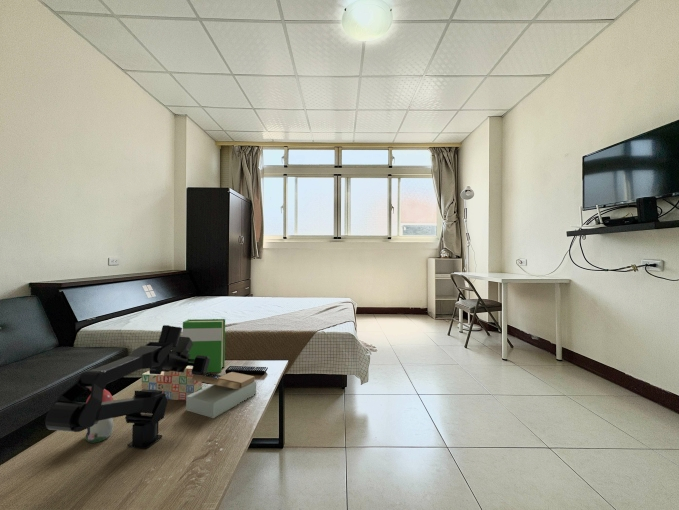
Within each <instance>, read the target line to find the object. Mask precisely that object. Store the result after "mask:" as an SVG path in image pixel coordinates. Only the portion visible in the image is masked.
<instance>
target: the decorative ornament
mask: <svg viewBox="0 0 679 510" xmlns="http://www.w3.org/2000/svg"><path fill="white" fill-rule="evenodd" d="M88 389H89V391H90V392H91V388H88ZM90 396H91V393H89V396H88V397H87V399H86V402H85V403H87V402H88V400H89V399H90ZM113 400H114V397H113V395H112V394H111V392H110V391H109V390H107V389H106V388H104V390H103V399H102V402H106V401H113ZM113 428H114V418H110V419H105V420H100V421H97V422H96V423H95V424H94V425H93V426H92V427H90V428H87V429H86V434H85V435H84V437H85V440H86V442H87V443H89V444H91V443H93V444H95V443H99V442H102V441H105V440H106V439H108V438H109V436H110V435H111V434H112V432H113Z"/></svg>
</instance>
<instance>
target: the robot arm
mask: <svg viewBox="0 0 679 510" xmlns="http://www.w3.org/2000/svg"><path fill="white" fill-rule="evenodd" d="M182 332H183V327H180V326H173V325H168V324H163V325H162V327H161V332H160V334H159V335H160V336H159V338H158V341H149V342H148V343H146V344H144V345H141V346H139V347H137V348H136V349H133V350H132V351H131V353H130V354H129V355H127V356H125V357H122V358H119V359H117V360H114V361H112V362H110V363H107V364H104V365H102V366H101V365H100V366H99V367H96V368H93V369H88V370H85V371H83V372H81V374H80V376H79V377H78V379H77V380H76V381H75V382H74V383H73V384H72V385H70V387H68V388H66V390H65V391H63V392H61V393H60V394H59V396H58V398H56V400H55V401H54V403H53V404H52V406H51V407H50V409H49V410H48V412H47V413H46V415H45V420H44V424H45V427H46V429H48V430H51V431H61V432H62V431H63V432H72V433H80V432H82V431H84V430H87V428H90V427H92V426H93V425H94V424H95V423H96V422H97V421H100V420H105V419H110V418H113V419H114V418H120V417H125V422H126V424H132V429H131V430H132V431H131V432H132V433H131V435H132V436H131V441H130V442H128V443H127V444H126V445H127V446H126V447H127V448H136V449H145V450H146V449H148V448H150V447H151V446H153V445H154V444H155V443H156V442H157V441H159V440H161V439H162V438H163V435H162V434H159V422H160V421H162V420H163V419H164V418H165V414H166V409H167V405H168V399H167V398H166V394H165V393H162V392H163V391H160V390H146V389H143V390H142V389H141V390H134V394H133V396H132V397H129V398H121V399H113V401H106V402H102V399H103V390H104V389H106V386H107V385H108V384H110V383H112V382H114V381H117V380H119V379H121V378H123V377H127V375H130V374H132V373H134V372H136V371H139V370H144V369H149V370H148V371H149V373H150V374H159V375H160V374H161V372H162V371H163V372H169V371H173V372H183V373H184V370H185V368H186V367H187V366H193V368H192V374H193V375H201V376H206V375H207V374H208V373H207V369H208V365H209V361H210V358H209V357H208V356H199V355H197V357H196V358H195V359H188V358H189V357H190V354H188V353H189V351H190V349H191V347H192V346H193V344H194V343H193V342H192V340H191V339H190V338H189V337H183V336H181V335H182ZM188 361H189V362H194V363H189V362H188ZM89 388H91V391H90V394H91V396H90V395H89V396H90V399H89V400H88V402H87V403H86V402H78V401H74V400H76V399H77V398H78V397H79V396H81V395H82V394H83V393H85V391H87V390H88V389H89Z"/></svg>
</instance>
